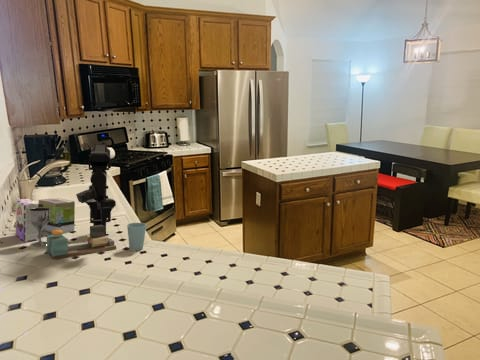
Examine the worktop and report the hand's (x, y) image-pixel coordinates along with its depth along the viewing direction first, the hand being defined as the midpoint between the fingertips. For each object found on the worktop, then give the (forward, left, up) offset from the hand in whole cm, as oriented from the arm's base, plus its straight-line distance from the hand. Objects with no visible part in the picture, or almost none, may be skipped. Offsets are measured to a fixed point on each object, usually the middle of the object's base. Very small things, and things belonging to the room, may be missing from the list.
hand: (98, 220), depth 148 cm
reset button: (0, -16, -4) cm, 16 cm away
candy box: (-31, -19, -12) cm, 39 cm away
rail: (0, -6, -12) cm, 13 cm away
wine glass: (-18, -17, -12) cm, 28 cm away
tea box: (-38, -5, -12) cm, 40 cm away
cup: (+9, +13, -12) cm, 19 cm away
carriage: (0, 0, -10) cm, 10 cm away
